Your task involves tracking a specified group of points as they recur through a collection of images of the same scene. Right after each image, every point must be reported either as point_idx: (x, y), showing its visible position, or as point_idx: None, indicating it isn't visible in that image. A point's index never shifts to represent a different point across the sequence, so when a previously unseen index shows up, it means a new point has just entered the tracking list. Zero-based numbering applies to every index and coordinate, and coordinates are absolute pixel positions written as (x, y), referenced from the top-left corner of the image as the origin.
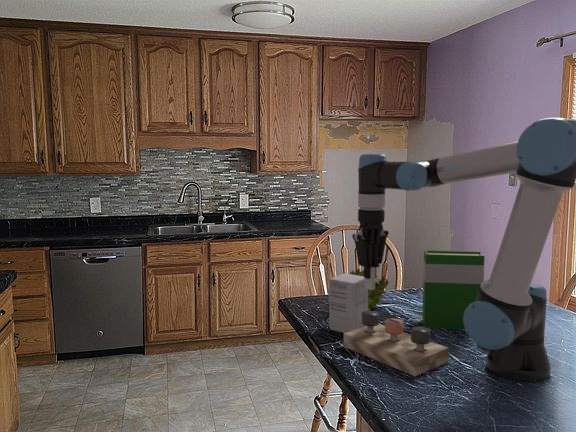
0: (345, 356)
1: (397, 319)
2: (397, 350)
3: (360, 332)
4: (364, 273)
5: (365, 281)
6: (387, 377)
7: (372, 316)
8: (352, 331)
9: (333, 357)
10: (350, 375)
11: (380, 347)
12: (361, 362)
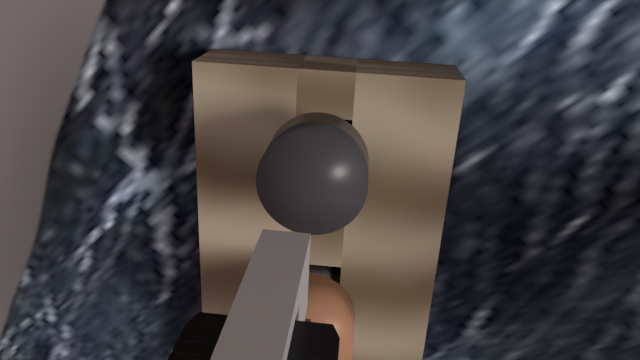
0: (143, 134)
1: (341, 344)
2: None
3: (272, 117)
4: (175, 355)
5: (247, 274)
6: (145, 339)
7: (280, 223)
8: (250, 76)
9: (93, 105)
10: (50, 253)
11: (202, 292)
12: (156, 215)
